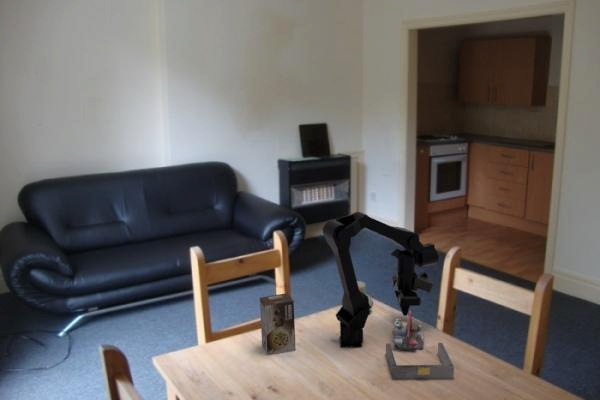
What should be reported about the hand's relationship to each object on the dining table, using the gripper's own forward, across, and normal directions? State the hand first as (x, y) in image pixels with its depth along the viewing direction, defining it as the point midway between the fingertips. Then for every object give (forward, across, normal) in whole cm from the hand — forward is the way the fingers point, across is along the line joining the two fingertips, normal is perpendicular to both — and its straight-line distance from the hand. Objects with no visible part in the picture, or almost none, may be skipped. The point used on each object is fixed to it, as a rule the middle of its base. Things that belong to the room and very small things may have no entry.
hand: (405, 315), depth 180 cm
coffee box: (+5, -11, +40) cm, 42 cm away
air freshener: (+5, +15, +14) cm, 21 cm away
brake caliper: (+5, -10, +1) cm, 11 cm away
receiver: (+5, -22, 0) cm, 23 cm away
